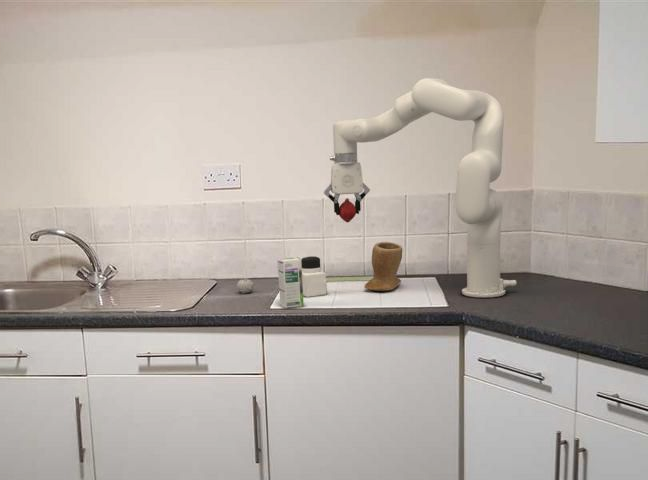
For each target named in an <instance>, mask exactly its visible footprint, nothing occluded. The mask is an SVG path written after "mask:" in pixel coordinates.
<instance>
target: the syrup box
mask: <svg viewBox="0 0 648 480" xmlns="http://www.w3.org/2000/svg"><path fill="white" fill-rule="evenodd" d="M301 259H302V258H301V257H298V256H291V257H281V258H277V273H278V274H277V276H278V287H279V288H278V291H279V304H280V306H281V307H283V308H284V309H292V308H298V307H299V308H300V307H304V304H305V303H304V296H303V284H302V264H301Z"/></svg>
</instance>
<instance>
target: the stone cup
mask: <svg viewBox="0 0 648 480" xmlns="http://www.w3.org/2000/svg"><path fill="white" fill-rule="evenodd" d="M402 258H403V247H402V246H401V244H398V243H395V242H390V241H380V242H377V243H375V244H374V245H373V247H372V250H371V266H372V270H373V271H372V272H373V276H374V278H373V279H371V280H368V281H367V282H366V283H365V284H364V288H365V289H366V290H370V291H377V292H378V291H379V292H380V291H381V292H387V291H392V290H393V289H395V288H397V286H398V285H399V284H400V283H401V282H402V279H400V278H399V277H397V274H398V271H399V268H400V265H401V261H402V260H403V259H402Z"/></svg>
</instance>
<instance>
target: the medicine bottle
mask: <svg viewBox="0 0 648 480" xmlns="http://www.w3.org/2000/svg"><path fill="white" fill-rule="evenodd" d="M300 259H301V264H302V284H303V297H306V298H311V297H317V296H324V295H325V296H326V295H327V292H328V291H327V289H328V288H327V281H326V277H327V273H326V272H325V271H322V270H321V269H322V268H321V258H320V257H319V256H313V255H312V256H311V255H310V256H303V257H302V258H300Z"/></svg>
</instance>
